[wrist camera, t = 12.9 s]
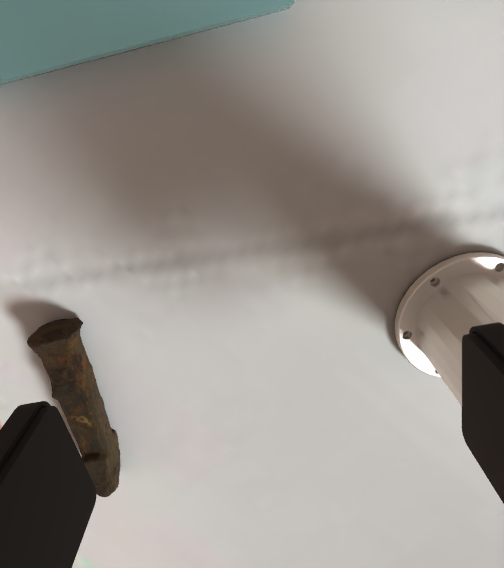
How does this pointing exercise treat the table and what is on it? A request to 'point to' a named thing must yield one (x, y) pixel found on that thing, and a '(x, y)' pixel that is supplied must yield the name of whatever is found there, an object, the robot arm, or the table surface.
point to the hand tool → (79, 399)
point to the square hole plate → (105, 28)
